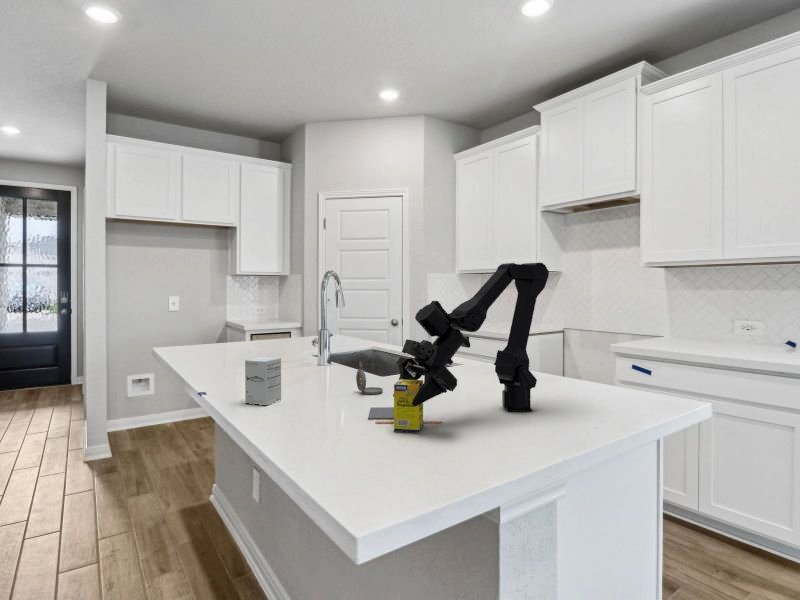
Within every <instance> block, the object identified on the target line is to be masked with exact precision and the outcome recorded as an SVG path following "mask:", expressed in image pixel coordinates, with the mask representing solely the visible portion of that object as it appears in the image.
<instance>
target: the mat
mask: <svg viewBox="0 0 800 600" xmlns="http://www.w3.org/2000/svg"><path fill="white" fill-rule="evenodd" d="M367 420H372V421H373V420H394V406H392V407H391V406H388V407H385V406H384V407H382V406H381V407H380V406H379V407H378V406H377V407H375V406H374V407H370V409H369V413H368V417H367Z"/></svg>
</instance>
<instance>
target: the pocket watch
mask: <svg viewBox="0 0 800 600" xmlns="http://www.w3.org/2000/svg"><path fill="white" fill-rule="evenodd" d="M358 364H359V369H358V370H357V371H356V374H355V375H356V376H355V378H356V379H355V381H356V386H357V389H358V390H359V392H361V393H362V394H366V395H377V394H378V395H379V394H381V393H382V392H383V391H384V390H383V388H382V387H378V386H377V387H374V386H373V387H367V378H366V374H365V371H364V369H363V367H364V366H363V363H362V361H359V362H358Z"/></svg>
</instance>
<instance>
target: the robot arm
mask: <svg viewBox="0 0 800 600" xmlns="http://www.w3.org/2000/svg"><path fill="white" fill-rule="evenodd" d="M549 274H550V272H549V269H548V268H547V266H546V265H545V263H543V262H529V263H528V262H526V263H520V264H519V263H514V262H509V263H507V262H506V263H501V264H500V265H498V266H497V269H496V270H495V272H494V273H493V274H491V276H490V277H489V279H487V281H486V282H485V283H484V284H483V285H482V286H481V287H480V288H479V289H478V291H477V292H476V293H475V294H474V295H473V296H472V297H471V298H470V299H467V300H466V301H464V302H461V303H460V304H459V305H458V306H456V307H455V308H454V309H453V310H451V312H449V313H448V312H447V311H446V310H445V308H443V306H442V305H441V303H440V302H439V300H432V301H431V302H430V303H429V304H426V305H425V306H423V307H422V308H420V309H419V310H418V311H417V312H416V314H415V317H414V319H415V321H416V322H417V323H418V325H420V326H421V327H422V329H423V330H424V331H425V332H426V333H427V334H428V335H429V336H430V337H436V338H435V340H434V341H433V342H431V341H429V340H425V339H422V340H421V341H417V340H414V339H406V340H405V341H404V345H403V346H402V347H403V348H402V350H401V353H403V354H408V355H410V356H412V357H414V358H412V357H408V356H400V357H399V358H398V359H397V360H396V362H395V364H396V365H397V369H398V370H399V377H398V381H399V380H400V379H403V380H420V379H421V377H424V379H423V385H422V387H421V388H420V390H419V391H418V393H417V395H416V396H415V398H414V400H413V401H412V405H413V406H417V405H419V404H421V403H423V404H424V403H425V402H427V401H429V400H431V399H433V398H435V397H437V396H440V395H442V394H443V393H445V394H446V393H448V392H449V391H450V392H453V391H454V390H456V388H457V386H458V378H457V377H456V376H455V375H454V374H453V373H452V372H451V371H450V370H449V368H447V365H450V366H451V365H453V363H454V360H452V359H453V357H454V356H455V355H456V353H457V352H458V351H459V349H460V348H461V347H463V348H468V349H470V348H471V342H470V336H467V335H464V334H463V332H468V333H476V332H478V331H479V330H480V329H481V328H482V326H483V324H484V322H486V319H487V314H488V311H489V309H490V307H491V306H492V305H493V304H494V303H495V302H496V300H497V299H498V298H499V297H500V295H502V293H503V292H504V291H505V290H506V289H507V287H508V286H509V285H510V284H511V283H512V282H513V281H514V285H515V289H516V291H517V297H516V302H515V305H514V306H515V307H514V311H513V315H512V319H511V320H512V321H511V325H510V330H509V334H508V335H509V336H508V339H507V344H506V346H505V347H504V348H503V350H500V349H499V350H497V352H496V357H495V361H494V363H493V366H494V367H495V368H494V371H495V373H496V376H497V379H498V380H499V384H500V385H503V386H504V389H502V391H501V395H502V396H501V397H502V399H501V402H502V403H501V405H502V406H503V408H504V409H505V410H506V412H533V408H532V407H531V391H532V389H534V388H536V386H537V382H538V380H537V377H535V375H534V374H533V373H532V372H531V371H530V358H529V356H528V353H527V345H528V341H529V337H530V332H531V328H532V327H531V326H532V323H533V322H532V321H533V319H534V318H533V317H534V313H535V308H536V303H537V298H538V297H539V295H540V294H541V293H542V291H543V290H544V289H545V287H546V286H547V285H546V284H547V282H548V279H549ZM392 397H393V398H394V393H393V395H392Z"/></svg>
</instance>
